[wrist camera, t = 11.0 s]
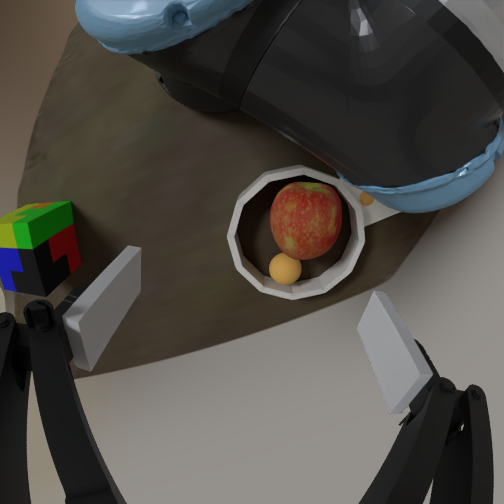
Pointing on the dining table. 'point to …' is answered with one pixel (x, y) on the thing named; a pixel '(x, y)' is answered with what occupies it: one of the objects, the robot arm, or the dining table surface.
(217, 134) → the dining table surface
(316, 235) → the apple
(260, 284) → the ring
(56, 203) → the puzzle toy
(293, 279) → the orange egg
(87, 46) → the dining table surface
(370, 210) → the card
